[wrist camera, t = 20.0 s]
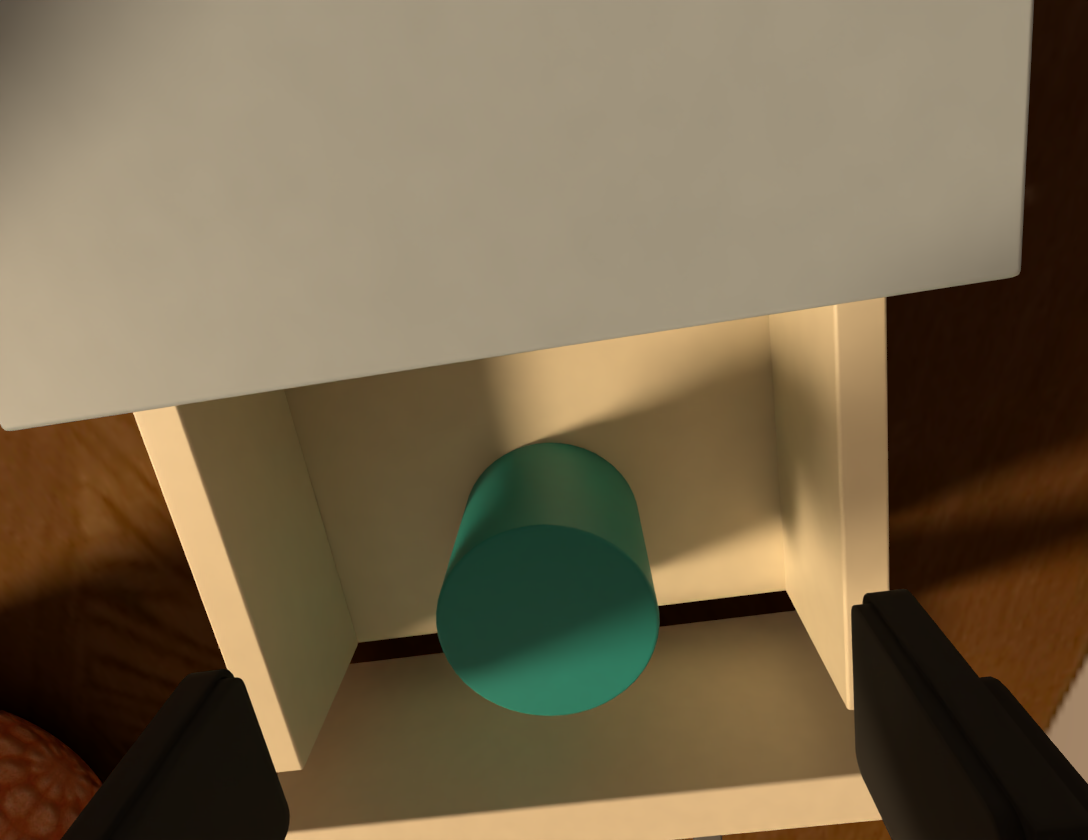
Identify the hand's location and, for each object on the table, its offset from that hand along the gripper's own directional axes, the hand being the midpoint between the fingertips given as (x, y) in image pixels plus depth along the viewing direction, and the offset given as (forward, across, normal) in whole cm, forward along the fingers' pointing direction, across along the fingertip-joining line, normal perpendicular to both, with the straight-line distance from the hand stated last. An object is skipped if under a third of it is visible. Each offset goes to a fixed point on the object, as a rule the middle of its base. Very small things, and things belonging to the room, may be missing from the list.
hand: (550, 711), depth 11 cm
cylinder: (+6, 0, 0) cm, 6 cm away
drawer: (+7, 0, +1) cm, 7 cm away
